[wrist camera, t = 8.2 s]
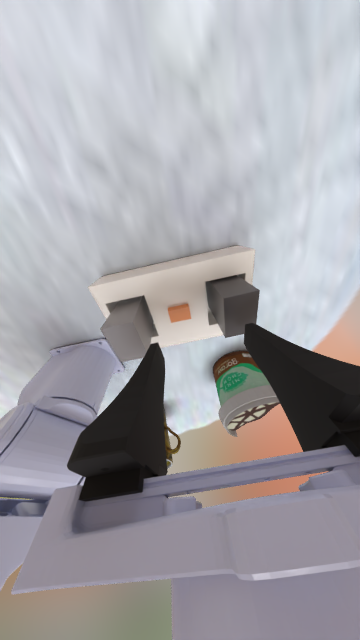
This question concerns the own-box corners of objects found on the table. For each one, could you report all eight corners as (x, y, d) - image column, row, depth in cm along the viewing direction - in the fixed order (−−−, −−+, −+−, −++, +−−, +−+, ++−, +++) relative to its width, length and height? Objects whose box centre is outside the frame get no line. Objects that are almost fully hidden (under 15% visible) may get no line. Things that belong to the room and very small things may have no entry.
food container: (235, 335, 25) (270, 390, 17) (258, 348, 27) (300, 401, 19) (195, 376, 30) (206, 433, 22) (217, 383, 32) (234, 438, 24)
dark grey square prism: (208, 306, 20) (225, 337, 14) (204, 275, 18) (223, 298, 12) (229, 301, 20) (255, 331, 14) (228, 269, 18) (259, 290, 12)
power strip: (132, 336, 23) (125, 359, 19) (102, 276, 18) (83, 290, 14) (236, 314, 23) (251, 333, 19) (237, 245, 17) (259, 250, 13)
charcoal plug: (133, 324, 21) (121, 361, 15) (121, 297, 18) (100, 329, 13) (153, 320, 21) (148, 356, 15) (143, 292, 18) (133, 322, 12)
